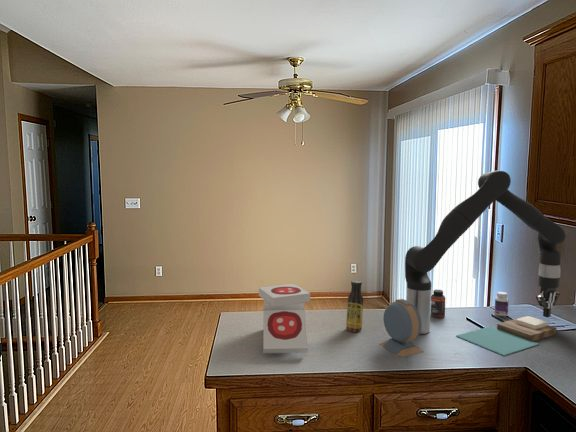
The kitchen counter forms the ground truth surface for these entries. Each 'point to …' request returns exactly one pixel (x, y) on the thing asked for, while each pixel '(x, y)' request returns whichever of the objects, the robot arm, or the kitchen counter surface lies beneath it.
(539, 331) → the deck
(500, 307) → the pill bottle
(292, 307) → the pizza boxes
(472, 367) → the kitchen counter surface
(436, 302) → the supplement bottle
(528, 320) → the tile
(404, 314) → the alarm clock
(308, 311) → the kitchen counter surface
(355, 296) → the sauce bottle
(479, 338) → the mat
